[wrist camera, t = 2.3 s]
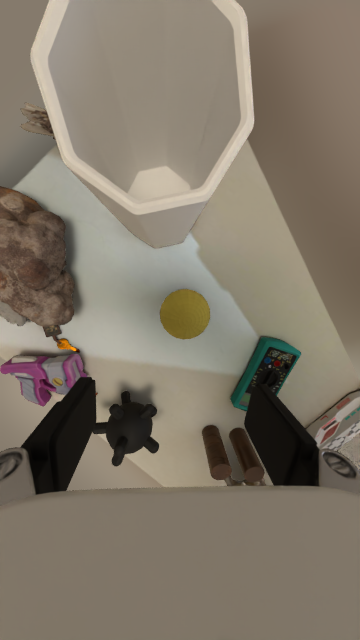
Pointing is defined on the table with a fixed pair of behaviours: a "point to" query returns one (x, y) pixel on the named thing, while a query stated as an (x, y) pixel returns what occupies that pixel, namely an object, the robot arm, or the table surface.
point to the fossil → (11, 315)
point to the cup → (147, 103)
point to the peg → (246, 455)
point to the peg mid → (216, 453)
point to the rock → (33, 261)
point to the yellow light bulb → (185, 314)
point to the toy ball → (128, 428)
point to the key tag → (56, 331)
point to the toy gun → (44, 375)
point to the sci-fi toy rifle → (337, 423)
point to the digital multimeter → (266, 369)
